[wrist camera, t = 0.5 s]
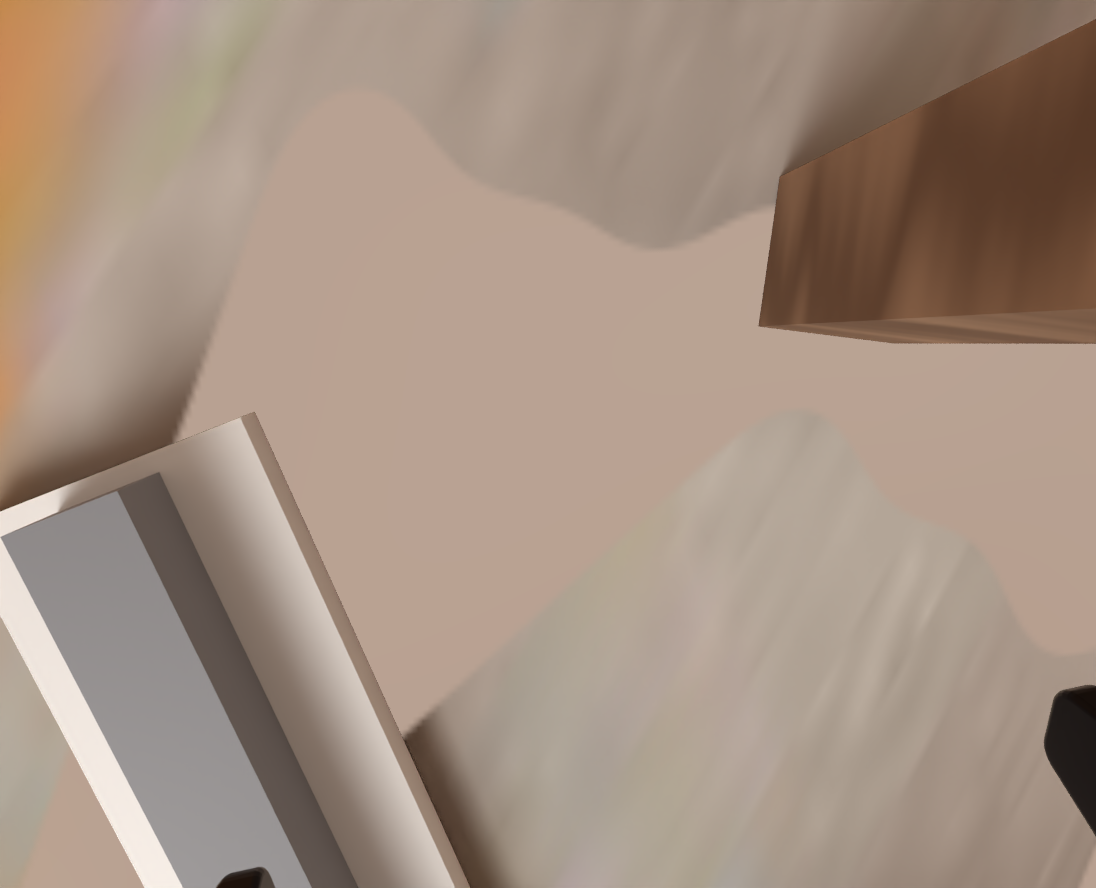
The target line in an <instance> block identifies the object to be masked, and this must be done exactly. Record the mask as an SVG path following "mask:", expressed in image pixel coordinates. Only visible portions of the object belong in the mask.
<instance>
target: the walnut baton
mask: <svg viewBox="0 0 1096 888" xmlns="http://www.w3.org/2000/svg"><path fill="white" fill-rule="evenodd" d="M759 326H760V327H768V328H776V329H784V330H792V331H800V332H808V333H816V334H824V335H831V336H832V335H833V336H839V337H848V338H855V339H863V340H871V341H879V342H888V343H1055V344H1057V343H1059V344H1062V343H1064V344H1069V343H1070V344H1072V343H1073V344H1076V343H1078V344H1080V343H1084V344H1088V343H1089V344H1091V343H1092V344H1096V19H1095V20H1093V21H1091V22H1089V23H1087V24H1085V25H1083V26H1081V27H1079V28H1077V29H1075V30H1073V31H1071V32H1069V33H1067V34H1065V35H1063V36H1061V37H1059V38H1057V39H1055V40H1053V41H1051V42H1049V43H1047V44H1045V45H1043V46H1041V47H1039V48H1037V49H1035V50H1033V51H1031V52H1029V53H1027V54H1025V55H1023V56H1021V57H1019V58H1017V59H1015V60H1013V61H1011V62H1009V63H1007V64H1005V65H1003V66H1001V67H999V68H997V69H995V70H993V71H991V72H989V73H987V74H985V75H983V76H981V77H979V78H977V79H975V80H973V81H971V82H969V83H967V84H965V85H963V86H961V87H959V88H957V89H955V90H953V91H951V92H949V93H947V94H945V95H943V96H941V97H939V98H937V99H935V100H933V101H931V102H929V103H927V104H925V105H923V106H921V107H919V108H917V109H915V110H913V111H911V112H909V113H907V114H905V115H903V116H901V117H899V118H897V119H895V120H893V121H891V122H889V123H887V124H885V125H883V126H881V127H879V128H877V129H875V130H873V131H871V132H869V133H867V134H865V135H863V136H861V137H859V138H857V139H855V140H853V141H851V142H849V143H847V144H845V145H843V146H841V147H839V148H837V149H835V150H833V151H831V152H829V153H827V154H825V155H823V156H821V157H819V158H817V159H815V160H813V161H811V162H809V163H807V164H805V165H803V166H801V167H799V168H797V169H795V170H793V171H791V172H789V173H787V174H785V175H783V176H781V177H780V179H779V186H778V193H777V200H776V207H775V214H774V222H773V229H772V236H771V243H770V250H769V257H768V264H767V271H766V278H765V285H764V292H763V299H762V307H761V313H760V320H759Z"/></svg>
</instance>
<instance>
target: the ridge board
mask: <svg viewBox="0 0 1096 888" xmlns="http://www.w3.org/2000/svg"><path fill="white" fill-rule="evenodd" d="M0 616H1V618H2V620H3V621H4V623H5V625H6V627H7V629H8V631H9V633H10V635H11V636H12V638H13V640H14V642H15V644H16V646H17V648H18V650H19V652H20V653H21V655H22V657H23V659H24V661H25V663H26V665H27V667H28V669H29V670H30V672H31V674H32V676H33V678H34V680H35V682H36V684H37V686H38V687H39V689H40V691H41V693H42V695H43V697H44V699H45V701H46V703H47V704H48V706H49V708H50V710H51V712H52V714H53V716H54V718H55V719H56V721H57V723H58V725H59V727H60V729H61V731H62V733H63V735H64V736H65V738H66V740H67V742H68V744H69V746H70V748H71V750H72V752H73V753H74V755H75V757H76V759H77V761H78V763H79V765H80V767H81V769H82V770H83V772H84V774H85V776H86V778H87V780H88V782H89V783H90V785H91V787H92V789H93V791H94V793H95V795H96V797H97V799H98V800H99V802H100V804H101V806H102V808H103V810H104V812H105V814H106V816H107V817H108V819H109V821H110V823H111V825H112V827H113V829H114V830H115V833H116V834H117V836H118V838H119V840H120V842H121V844H122V846H123V848H124V850H125V851H126V853H127V855H128V857H129V859H130V861H131V863H132V865H133V867H134V868H135V870H136V872H137V874H138V876H139V878H140V880H141V882H142V884H143V885H144V887H145V888H216V887H217V885H218V884H219V882H220V881H221V880H222V879H223V878H224V877H225V876H226V875H228V874H230V873H233V872H237V871H242V870H246V869H251V868H255V867H264V868H265V869H267V870H268V872H269V874H270V876H271V878H272V881H273V883H274V885H275V888H470V886H469V884H468V881H467V879H466V877H465V875H464V873H463V870H462V868H461V866H460V864H459V861H458V859H457V857H456V855H455V853H454V850H453V848H452V846H451V844H450V842H449V839H448V837H447V835H446V833H445V831H444V828H443V826H442V824H441V822H440V820H439V817H438V815H437V813H436V811H435V809H434V806H433V804H432V802H431V800H430V798H429V795H428V793H427V791H426V789H425V786H424V784H423V782H422V780H421V778H420V775H419V773H418V771H417V769H416V767H415V764H414V762H413V760H412V758H411V756H410V753H409V751H408V749H407V747H406V745H405V742H404V740H403V738H402V736H401V734H400V731H399V729H398V727H397V725H396V722H395V720H394V718H393V716H392V714H391V711H390V709H389V707H388V705H387V703H386V701H385V698H384V696H383V694H382V692H381V690H380V687H379V685H378V683H377V681H376V678H375V676H374V674H373V672H372V670H371V668H370V665H369V663H368V661H367V659H366V657H365V654H364V652H363V650H362V648H361V645H360V643H359V641H358V639H357V636H356V634H355V632H354V630H353V628H352V626H351V623H350V621H349V619H348V617H347V614H346V612H345V610H344V608H343V606H342V603H341V601H340V599H339V597H338V595H337V592H336V590H335V588H334V586H333V584H332V581H331V579H330V577H329V575H328V572H327V570H326V568H325V566H324V564H323V561H322V559H321V557H320V555H319V553H318V550H317V548H316V546H315V544H314V542H313V539H312V537H311V535H310V533H309V531H308V528H307V526H306V524H305V522H304V520H303V517H302V515H301V513H300V511H299V509H298V507H297V504H296V502H295V500H294V498H293V495H292V493H291V491H290V489H289V486H288V484H287V482H286V480H285V478H284V475H283V473H282V471H281V469H280V467H279V464H278V462H277V460H276V458H275V456H274V453H273V451H272V449H271V447H270V445H269V442H268V441H267V438H266V436H265V434H264V431H263V429H262V427H261V425H260V422H259V420H258V418H257V416H256V414H255V412H253V413H250V414H248V415H245V416H242V417H240V418H237V419H234V420H232V421H229V422H227V423H224V424H222V425H219V426H217V427H214V428H212V429H209V430H207V431H204V432H201V433H199V434H196V435H194V436H191V437H189V438H186V439H183V440H181V441H178V442H176V443H173V444H171V445H168V446H166V447H163V448H161V449H158V450H155V451H153V452H150V453H148V454H145V455H143V456H140V457H138V458H135V459H133V460H130V461H127V462H125V463H122V464H120V465H117V466H115V467H112V468H110V469H107V470H105V471H102V472H99V473H97V474H94V475H92V476H89V477H87V478H84V479H82V480H79V481H77V482H74V483H71V484H69V485H66V486H64V487H61V488H59V489H56V490H54V491H51V492H49V493H46V494H43V495H41V496H38V497H36V498H33V499H31V500H28V501H26V502H23V503H21V504H18V505H15V506H13V507H10V508H8V509H5V510H3V511H0Z"/></svg>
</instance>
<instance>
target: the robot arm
mask: <svg viewBox="0 0 1096 888" xmlns="http://www.w3.org/2000/svg"><path fill="white" fill-rule="evenodd" d="M1044 748H1045V752H1046V755H1047V757H1048V760H1049V762H1050V764H1051V766H1052V767H1053V769H1054V770H1055V772H1056V774H1057V775H1058V777H1059V778H1060V780H1061V782H1062V783H1063V785H1064V786H1065V788H1066V789H1067V791H1068V793H1069V794H1070V796H1071V797H1072V799H1073V801H1074V802H1075V804H1076V805H1077V807H1078V809H1079V810H1080V812H1081V813H1082V815H1083V817H1084V818H1085V820H1086V821H1087V823H1088V825H1089V826H1090V828H1091V829H1092V831H1093V833H1094V834H1095V836H1096V686H1094V685H1084V686H1080V687H1075V688H1071V689H1066V690H1062V691H1060V692H1059V693H1057V694H1056V696H1055V697H1054V700H1053V704H1052V708H1051V712H1050V716H1049V720H1048V725H1047V729H1046V733H1045V737H1044ZM216 888H275V885H274V883H273V881H272V878H271V876H270V874H269V872H268V870H267V869H265V868H264V867H255V868H251V869H246V870H242V871H237V872H233V873H230V874H228V875H226V876H225V877H224V878H223V879H222V880H221V881H220V882H219V884H218V885H217V887H216Z"/></svg>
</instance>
